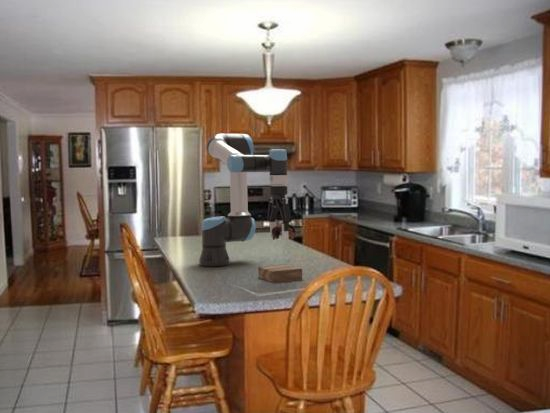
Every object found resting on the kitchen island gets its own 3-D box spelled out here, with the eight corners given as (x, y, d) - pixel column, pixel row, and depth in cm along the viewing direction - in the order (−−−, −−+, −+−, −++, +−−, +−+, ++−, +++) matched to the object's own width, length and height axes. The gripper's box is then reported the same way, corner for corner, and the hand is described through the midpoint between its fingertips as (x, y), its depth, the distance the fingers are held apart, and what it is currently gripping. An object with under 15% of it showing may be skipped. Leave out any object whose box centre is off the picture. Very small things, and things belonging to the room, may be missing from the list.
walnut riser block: (258, 278, 245) (258, 267, 245) (286, 275, 251) (286, 264, 251) (272, 283, 232) (272, 271, 232) (302, 280, 239) (302, 268, 238)
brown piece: (278, 238, 249) (287, 222, 247) (293, 249, 243) (302, 233, 242) (262, 234, 239) (271, 218, 238) (277, 246, 234) (286, 229, 232)
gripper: (258, 185, 248) (259, 236, 249) (283, 185, 228) (284, 240, 229) (273, 185, 251) (274, 235, 252) (299, 185, 232) (300, 239, 233)
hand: (279, 237), depth 241 cm, fingers closed on brown piece, 9 cm apart
